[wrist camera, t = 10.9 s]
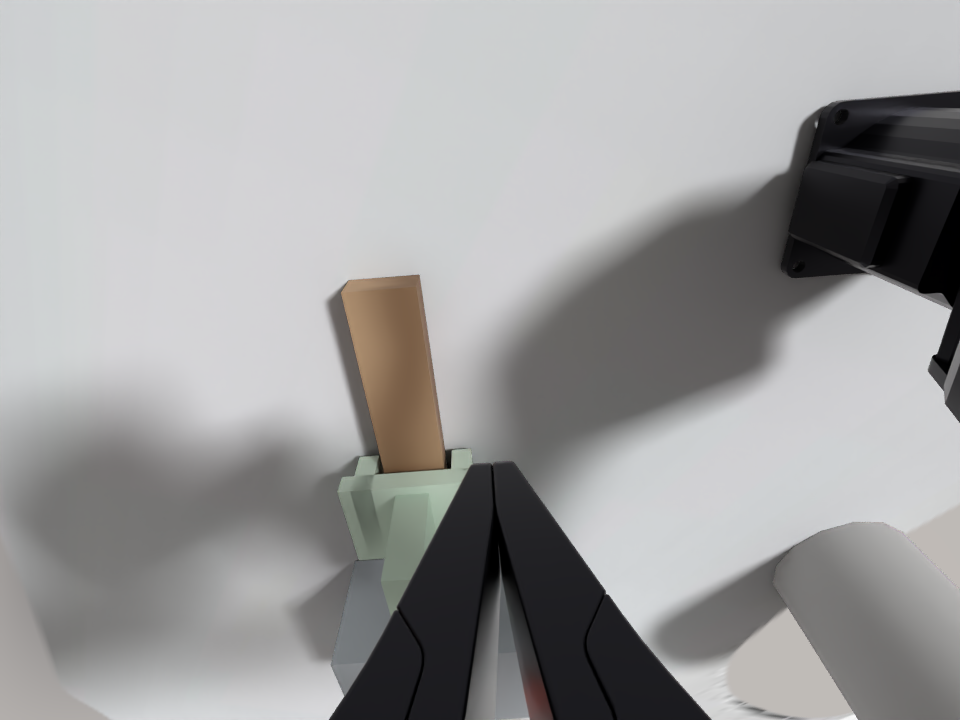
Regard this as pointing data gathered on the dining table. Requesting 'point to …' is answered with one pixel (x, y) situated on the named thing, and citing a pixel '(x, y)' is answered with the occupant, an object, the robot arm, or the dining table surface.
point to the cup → (877, 620)
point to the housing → (370, 618)
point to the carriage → (398, 515)
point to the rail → (396, 371)
